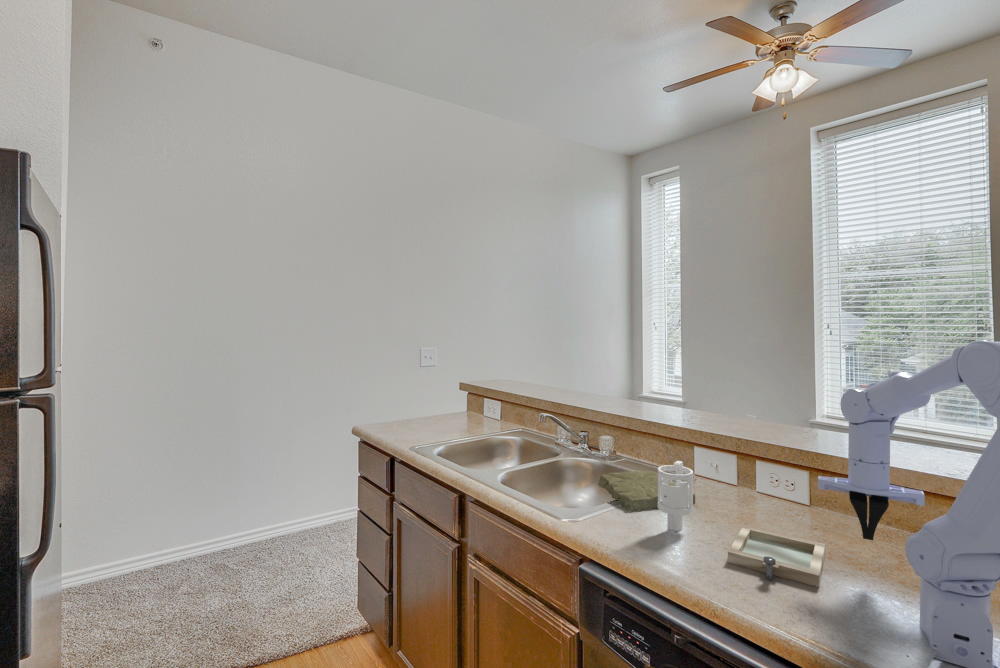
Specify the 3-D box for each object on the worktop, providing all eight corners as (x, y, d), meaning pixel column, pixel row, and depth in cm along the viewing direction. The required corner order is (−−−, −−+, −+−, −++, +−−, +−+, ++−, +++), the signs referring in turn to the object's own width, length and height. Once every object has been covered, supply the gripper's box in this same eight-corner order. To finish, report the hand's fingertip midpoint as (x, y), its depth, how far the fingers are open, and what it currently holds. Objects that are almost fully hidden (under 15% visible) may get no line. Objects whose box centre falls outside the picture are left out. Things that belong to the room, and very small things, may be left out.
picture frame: (818, 590, 80) (818, 578, 80) (726, 564, 88) (726, 553, 88) (825, 554, 92) (825, 544, 92) (743, 535, 100) (743, 525, 100)
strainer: (696, 532, 105) (697, 463, 104) (687, 544, 99) (687, 471, 99) (663, 524, 109) (663, 457, 109) (653, 535, 103) (653, 465, 103)
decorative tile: (651, 480, 141) (651, 467, 141) (696, 505, 121) (696, 491, 121) (592, 486, 136) (592, 473, 136) (629, 513, 116) (629, 498, 116)
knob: (774, 591, 82) (774, 562, 82) (762, 588, 83) (762, 559, 83) (775, 586, 84) (776, 558, 83) (763, 583, 85) (764, 555, 85)
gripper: (920, 460, 83) (919, 539, 83) (819, 448, 91) (818, 520, 92) (927, 470, 77) (925, 555, 78) (817, 456, 86) (817, 533, 86)
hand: (867, 537), depth 84 cm, fingers closed
